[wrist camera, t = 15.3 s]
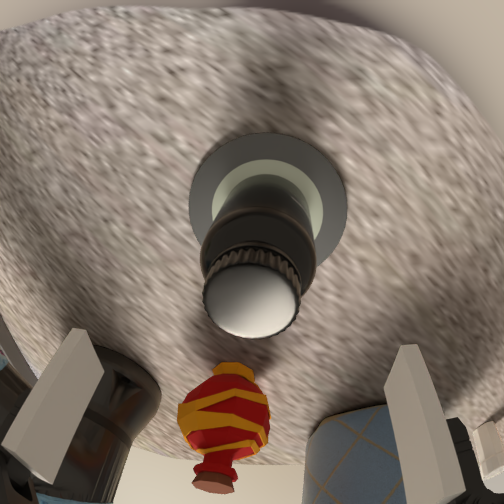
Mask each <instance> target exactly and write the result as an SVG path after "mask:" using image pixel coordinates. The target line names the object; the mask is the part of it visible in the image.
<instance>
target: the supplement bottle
mask: <svg viewBox="0 0 504 504" xmlns="http://www.w3.org/2000/svg"><path fill="white" fill-rule="evenodd" d="M200 266H201V271H202V274H203V277H204V279H205V283H204V289H203V292H202V295H203V301H202V302H203V304H204V305H205V307H204V308H205V310H206V311H207V313H208V316H209V317H210V318H211V319H212V321H213V323H215V324H217V325H218V327H219V328H220V329H223V330H224V331H225V332H227V333H230V334H232V335H234V336H239V337H241V338H249V339H263V338H270V337H272V336H274V335H278V334H279V333H280V332H283V331H285V330H286V328H287V327H289V326H291V324H292V322H293V321H294V320H296V315H297V314H298V313H299V306H300V304H301V298H302V297H303V296H304V294H305V293H306V292H307V291H308V289H309V288H310V286H311V284H312V282H313V279H314V277H315V273H316V267H317V257H316V248H315V242H314V235H313V229H312V222H311V216H310V211H309V207H308V203H307V201H306V198H305V196H304V195H303V193H302V192H301V190H300V189H299V188H298V187H297V186H296V185H295V184H293V183H292V182H291V181H289V180H287V179H285V178H283V177H280V176H277V175H272V174H259V175H254V176H251V177H248V178H246V179H244V180H243V181H241V182H240V183H238V184H237V185H236V186H235V187H234V188H233V189H232V190H231V192H230V193H229V195H228V196H227V198H226V200H225V201H224V203H223V205H222V207H221V209H220V210H219V212H218V214H217V216H216V217H215V219H214V221H213V223H212V225H211V226H210V228H209V230H208V232H207V234H206V236H205V238H204V241H203V243H202V247H201V251H200Z"/></svg>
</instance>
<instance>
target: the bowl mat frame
mask: <svg viewBox="0 0 504 504" xmlns="http://www.w3.org/2000/svg"><path fill="white" fill-rule="evenodd" d="M0 348H1V350H2V351H3V353H4V355H5V356H6V358H7V359H8V361H9V363H10V364H11V365H12V366H13V367H14V368H15V369H16V370H17V371H18V372H19V373H20V375H21V376H22V377H23V378H24V379H25V380H26V381H27V382H28V383H29V384H30V385H31V386H32V387H34V386H35V384H36V383H37V381H38V380H37V378H36V377H35V375H34V373H33V372H32V370H31V369H30V367H29V366H28V364H27V362H26V361H25V359H24V357H23V356H22V354H21V352H20V350H19V349H18V347H17V345H16V343H15V342H14V340H13V338H12V336H11V334H10V332H9V331H8V329H7V327H6V325H5V323H4V321H3V319H2V317H1V315H0Z"/></svg>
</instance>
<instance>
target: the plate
mask: <svg viewBox="0 0 504 504" xmlns="http://www.w3.org/2000/svg"><path fill="white" fill-rule="evenodd" d="M259 174H272V175H277V176H280V177H283V178H285V179H287V180H289V181H291V182H292V183H293V184H295V185H296V186H297V187H298V188H299V189H300V190H301V192H302V193H303V195H304V196H305V198H306V201H307V203H308V207H309V211H310V216H311V222H312V229H313V235H314V242H315V248H316V257H317V266H319V265H320V264H321V263H322V262H323V261H325V260H326V259H327V258H328V257H329V255H330V254H331V253H332V252H333V251H334V249H335V248H336V246H337V245H338V243H339V241H340V239H341V237H342V234H343V231H344V228H345V224H346V219H347V200H346V194H345V190H344V187H343V184H342V182H341V180H340V177H339V176H338V174H337V172H336V171H335V169H334V167H333V166H332V165H331V163H330V162H329V161H328V160H327V158H326V157H324V156H323V155H322V154H321V153H320V152H319V151H318V150H316V149H315V148H314V147H312V146H311V145H309V144H307V143H305V142H304V141H302V140H300V139H297V138H294V137H291V136H288V135H283V134H278V133H255V134H250V135H245V136H242V137H239V138H237V139H234V140H232V141H230V142H228V143H226V144H225V145H223V146H222V147H220V148H219V149H217V150H216V151H215V152H214V153H213V154H212V155H211V156H210V157H209V158H208V159H207V160H206V161H205V162H204V163H203V165H202V166H201V167H200V169H199V171H198V172H197V174H196V176H195V179H194V181H193V183H192V187H191V191H190V195H189V216H190V222H191V225H192V229H193V232H194V234H195V236H196V238H197V240H198V242H199V243H200V245H201V247H202V243H203V241H204V238H205V236H206V234H207V232H208V230H209V228H210V226H211V225H212V223H213V221H214V219H215V217H216V216H217V214H218V212H219V210H220V209H221V207H222V205H223V203H224V201H225V200H226V198H227V196H228V195H229V193H230V192H231V190H232V189H233V188H234V187H235V186H236V185H237V184H238V183H240V182H241V181H243V180H244V179H246V178H248V177H251V176H254V175H259Z"/></svg>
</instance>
